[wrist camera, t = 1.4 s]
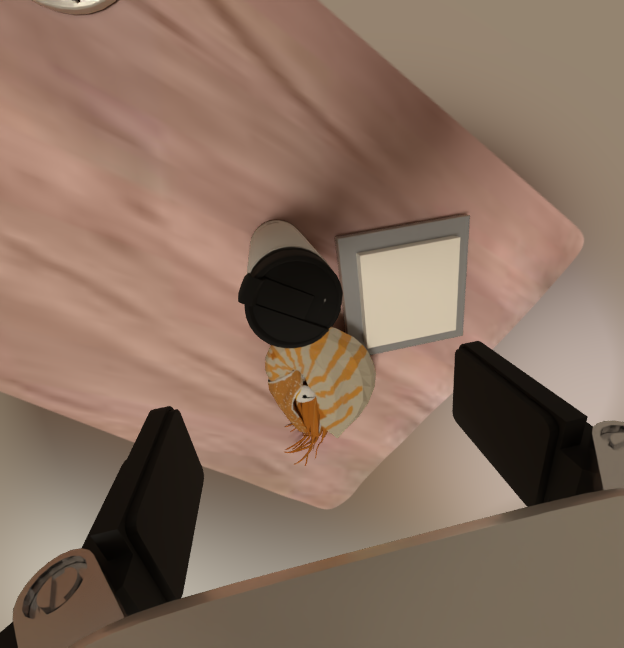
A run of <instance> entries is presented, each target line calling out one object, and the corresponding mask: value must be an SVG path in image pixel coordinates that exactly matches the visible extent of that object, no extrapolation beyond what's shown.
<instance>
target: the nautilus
mask: <svg viewBox="0 0 624 648" xmlns="http://www.w3.org/2000/svg"><path fill="white" fill-rule="evenodd" d="M265 370H266V373H267V375H268V378H269V380H268V385H269V390H270V392H271V394H272V395H273V397H274V399H275V401H276V402H277V404H278V406H279V407H280V409H281V410H282V411H283V412H284V413H285V415H286V416H287V418H288V419H289V420H290V422H291V423H292V424H290V425H288V426H291V425H294V426H295V427H296V428H297V429H298V431H300V432H304V434H305V435H304V434H303V436H304V437H303V438H302V439H301V440H300V441H298V442H297V443H295V444H294V445H292V446H291V447H289V448H287V449H285V450H288V449H290V448H292V447H293V446H295V445H296V444H298V443H299V442H300V443H299V444H298V445H300V444H301V443H302V441H303V440H304V439H305V438H306V437H307V436H309V437H308V438H307V439H306V440H305V441H304V442H303V443H302V444H301V445H300V446H299V447H298V448H296V447H297V446H298V445H297V446H296V447H295V448H296V449H295V448H293V449H295V450H293V451H291V452H285V453H294V452H298V451H301V450H304V449H307V448H309V450H308V452H307V453H306V455H305V456H304V457H303V458H302V459H301V460H300V461H298V462H297V463H299V462H301V461H302V460H303V459H304V458H305V457H306V456H307V458H306V464H307V459H308V454H309V453H310V451H311V450H312V447H313V449H314V445H313V443H314V444H315V442H317V440H318V438H319V436H320V435H321V434H322V431H323V434H322V440H321V442H320V443H322V441H323V438H324V437H325V435H326V434H327V432H330V433H331V434H332V435H334V436H335V437H336V438H339V436H340V435H341V434H342V433H343V432H344V430H345V429H346V428H347V427H348V426H349V425H351V424H352V423H353V422H354V421H355V420H356V419H357V418H358V417H359V415H360V414H361V413H362V411H363V410H364V408H365V407H366V405H367V404H368V402H369V399H370V397H371V394H372V392H373V389H374V386H375V376H376V372H375V368H374V364H373V361H372V359H371V357H370V355H369V352H368V351H367V350H366V348H365V347H364V346H363V345H362V344H361V343H360V342H359V341H358V340H356V339H355V338H354V337H352V336H350V335H348V334H346V333H344V332H342V331H340V330H338V329H337V328H333V327H330V328H329V331H328V332H327V333H326V334H325V335H324V336H323V337H322V338H321V339H320V340H318V341H316V342H315V343H313V344H310V345H307V346H305V347H300V348H280V347H276V346H273V345H271V346H270V348H269V351H268V353H267V355H266V363H265ZM288 426H285V427H288ZM296 428H295V429H296ZM295 429H293V430H292V431H294V430H295ZM290 432H291V431H290ZM307 432H308V434H307ZM310 432H311V434H310ZM310 436H311V441H310V442H308V443H306V442H307V441H308V440H309V438H310ZM304 443H306V444H305V445H303V444H304ZM309 443H311V444H310V445H309V446H307V447H304V446H306V445H308V444H309ZM320 443H319V444H320ZM319 444H318V446H319ZM302 445H303V446H302ZM318 446H317V449H318ZM302 447H304V448H302ZM317 449H316V455H317ZM315 458H316V457H315ZM297 463H295V464H297ZM306 464H305V466H306Z"/></svg>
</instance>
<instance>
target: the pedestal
mask: <svg viewBox="0 0 624 648" xmlns="http://www.w3.org/2000/svg"><path fill="white" fill-rule="evenodd" d="M469 221H470V215H464V214H461V215H456V216H450V217H444V218H439V219H433V220H427V221H422V222H416V223H411V224H405V225H399V226H394V227H388V228H382V229H377V230H371V231H366V232H360V233H354V234H349V235H343V236H337V237H335V244H336V253H337V262H338V270H339V279H340V283H341V287H342V291H343V297H342V306H343V315H344V323H345V332H346V334H348V335H350V336H352V337H354V338H355V339H356V340H358V341H359V342H360V343H361V344H362V345H363V346H364V347H365V348H366V350H367V351H368V352H369V355H373V354H378V353H383V352H387V351H392V350H397V349H401V348H406V347H411V346H416V345H420V344H425V343H430V342H435V341H439V340H444V339H449V338H454V337H458V336H463V322H464V305H465V289H466V272H467V255H468V238H469Z"/></svg>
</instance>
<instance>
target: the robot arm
mask: <svg viewBox="0 0 624 648" xmlns="http://www.w3.org/2000/svg"><path fill="white" fill-rule="evenodd" d="M32 1H34V2H36V3H37V4H39V5H41V6H44V7H46V8H49V9H51V10H54V11H57V12H62V13H67V14H73V15H75V14H90V13H93V12H96V11H99V10H103V9H104V8H106V7H107V6H109V5H110V4H112V3H114V2H115V1H116V0H81V2H79V3H78V0H32ZM453 417H454V419H455V421H456V422H457V424H458V425H459V426H460V427H461V428H462V430H463V431H464V432H465V433H466V434H467V436H468V437H469V438H470V439H471V440H472V442H473V443H474V444H475V445H476V446H477V447H478V449H479V450H480V451H481V452H482V453H483V454H484V456H485V457H486V458H487V459H488V461H489V462H490V463H491V464H492V465H493V466H494V468H495V469H496V470H497V471H498V473H499V474H500V475H501V476H502V477H503V478H504V480H505V481H506V482H507V483H508V484H509V486H510V487H511V488H512V489H513V490H514V492H515V493H516V494H517V495H518V496H519V498H520V499H521V500H522V501H523V502H524V503H525V505H526V506H528V507H525V508H522V509H518V510H514V511H510V512H506V513H502V514H498V515H494V516H490V517H486V518H482V519H478V520H474V521H470V522H466V523H463V524H458V525H454V526H451V527H447V528H443V529H439V530H435V531H431V532H428V533H423V534H419V535H415V536H412V537H408V538H404V539H400V540H396V541H392V542H389V543H385V544H381V545H377V546H373V547H369V548H365V549H362V550H358V551H354V552H350V553H346V554H342V555H339V556H335V557H331V558H327V559H324V560H320V561H316V562H313V563H308V564H305V565H301V566H297V567H293V568H290V569H286V570H282V571H279V572H275V573H271V574H267V575H263V576H260V577H256V578H252V579H248V580H245V581H241V582H237V583H233V584H230V585H226V586H223V587H219V588H216V589H212V590H209V591H206V592H202V593H198V594H195V595H191V596H188V597H185V598H181V597H182V594H183V589H184V585H185V579H186V574H187V568H188V563H189V558H190V552H191V547H192V541H193V535H194V530H195V525H196V520H197V514H198V509H199V503H200V498H201V492H202V487H203V481H204V473H203V469H202V466H201V464H200V461H199V459H198V456H197V454H196V451H195V449H194V446H193V443H192V441H191V438H190V436H189V433H188V431H187V428H186V426H185V423H184V421H183V418H182V416H181V413H180V411H179V410H178V409H176V410H174V409H173V408H172V407H171V406H168V407H163V408H158V409H154V410H151V411H150V412H149V414H148V416H147V418H146V421H145V423H144V425H143V427H142V429H141V431H140V433H139V435H138V437H137V439H136V441H135V443H134V446H133V448H132V450H131V452H130V454H129V456H128V458H127V460H125V462H124V463H123V465H122V466H121V468H120V470H119V473H118V474H117V477H116V479H115V481H114V483H113V485H112V487H111V489H110V491H109V493H108V495H107V497H106V499H105V501H104V503H103V505H102V507H101V509H100V511H99V513H98V515H97V518H96V520H95V522H94V524H93V526H92V528H91V530H90V532H89V534H88V536H87V538H86V540H85V542H84V544H83V546H82V548H81V549H74V550H70V551H68V552H66V553H63V554H61V555H59V556H58V557H56V558H54V559H53V560H51V561H50V562H48V563H47V564H46V565H45V566H44V567H42V568H41V569H40V570H39V571H38V572H37V573H36V574H35V575H34V576H33V577H32V578H31V580H30V581H29V582H28V583H27V584H26V585H25V587H24V588H23V590H22V592H21V593H20V595H19V596H18V598H17V601H16V603H15V606H14V608H13V622H12V623H11V624H10V625H9V626H7V627H6V628H5V629H4V630H3V631H1V632H0V648H624V422H619V421H603V422H600V423H597V424H596V425H595V426H594V427H593V426H591V425H590V424H589V423H587V422H586V421H587V416H586V415H584V414H583V413H581V412H580V411H579V410H577V409H576V408H574V407H573V406H572V405H570V404H569V403H567V402H566V401H564V400H563V399H562V398H560V397H559V396H557V395H556V394H554V393H553V392H552V391H550V390H549V389H547V388H546V387H544V386H543V385H542V384H540V383H539V382H537V381H536V380H534V379H533V378H532V377H530V376H529V375H527V374H526V373H525V372H523V371H522V370H520V369H519V368H517V367H516V366H515V365H513V364H512V363H510V362H509V361H507V360H506V359H504V358H503V357H502V356H500V355H499V354H497V353H496V352H494V351H493V350H492V349H490V348H489V347H487V346H486V345H485V344H483V343H482V342H480V341H475V342H470V343H465V344H462V345H460V347H459V349H457V350H456V352H455V367H454V389H453Z"/></svg>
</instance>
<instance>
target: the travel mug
mask: <svg viewBox="0 0 624 648" xmlns="http://www.w3.org/2000/svg"><path fill="white" fill-rule="evenodd" d="M342 297H343V291H342V287H341V283H340V281H339V279H338V277H337V275H336V274H335V273H334V271H333V270H332V269H331V268H330V266H329V265H328V264H327V262H326V261H325V260H324V259H323V258H322V256H321V255H320V254H319V253H318V252H317V251H316V250H315V249H314V247H313V246H312V245H311V244H310V243H309V242H308V241H307V240H306V238H305V237H304V236H303V235H302V234H301V233H300V232H299V231H298V229H297V228H295V227H294V226H293V225H292V224H290V223H288V222H285V221H282V220H271V221H268V222H266V223H264V224H262V225H261V226H259V227H258V228H257V229H256V231H255V232H254V234H253V236H252V238H251V242H250V249H249V258H248V267H247V275H246V276H245V277H244V279H243V282H242V284H241V287H240V290H239V294H238V302H240V303H242V304H245V314H246V318H247V321H248V323H249V326H250V327H251V329H252V330H253V331H254V333H255V334H256V335H257V336H258V337H259V338H260V339H262V340H263V341H265V342H266V343H268V344H270V345H273V346H276V347H280V348H300V347H305V346H307V345H310V344H313V343H315V342H316V341H318V340H320V339H321V338H322V337H323V336H324V335H325V334H326V333H327V332H328V331H329V328H330V327H332V326H333V324H334V323H335V321H336V320H337V318H338V315H339V313H340V310H341V305H342Z"/></svg>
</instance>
